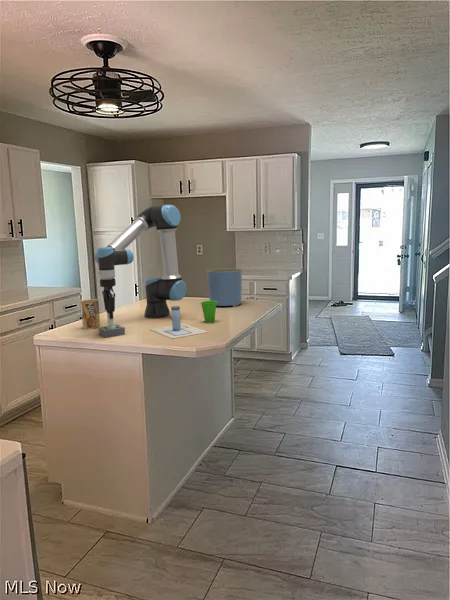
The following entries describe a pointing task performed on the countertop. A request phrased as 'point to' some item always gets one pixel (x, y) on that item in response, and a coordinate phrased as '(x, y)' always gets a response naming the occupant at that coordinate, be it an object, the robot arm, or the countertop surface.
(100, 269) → the robot arm
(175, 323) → the blue bottle
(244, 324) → the countertop surface
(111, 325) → the button
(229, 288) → the planter
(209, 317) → the cup
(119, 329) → the button housing
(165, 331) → the picture sheet
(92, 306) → the candy box
